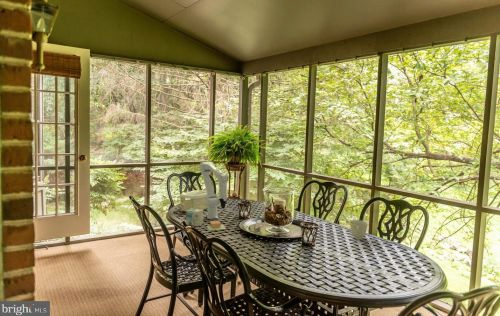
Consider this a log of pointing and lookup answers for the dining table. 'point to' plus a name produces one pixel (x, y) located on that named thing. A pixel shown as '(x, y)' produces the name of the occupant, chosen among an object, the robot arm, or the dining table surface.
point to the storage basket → (193, 200)
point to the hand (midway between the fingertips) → (223, 208)
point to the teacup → (358, 228)
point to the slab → (215, 224)
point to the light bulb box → (194, 217)
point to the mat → (215, 228)
